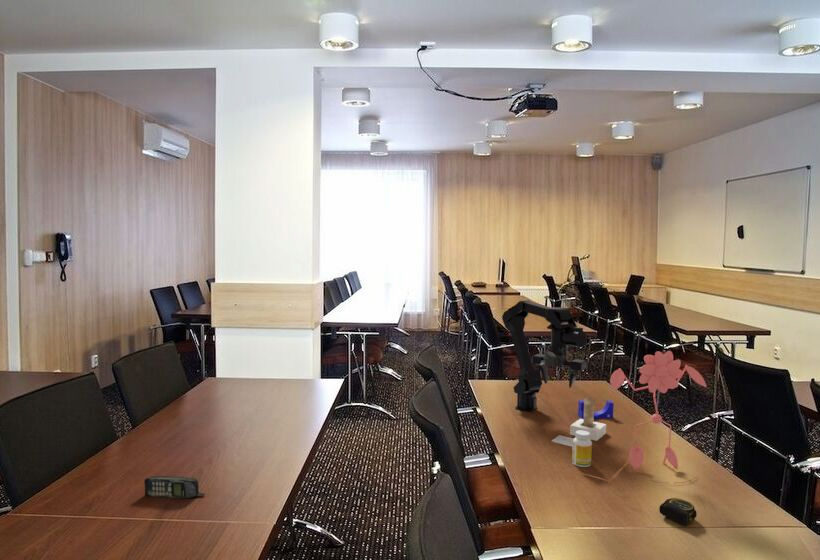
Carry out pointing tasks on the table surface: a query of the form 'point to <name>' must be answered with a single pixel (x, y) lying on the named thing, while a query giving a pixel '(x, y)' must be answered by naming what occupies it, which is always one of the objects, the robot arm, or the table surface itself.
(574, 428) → the block
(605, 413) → the cable clip
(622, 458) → the table surface
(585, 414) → the peg
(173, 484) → the mobile phone
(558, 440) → the mat
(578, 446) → the supplement bottle
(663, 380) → the figurine
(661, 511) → the tape measure
